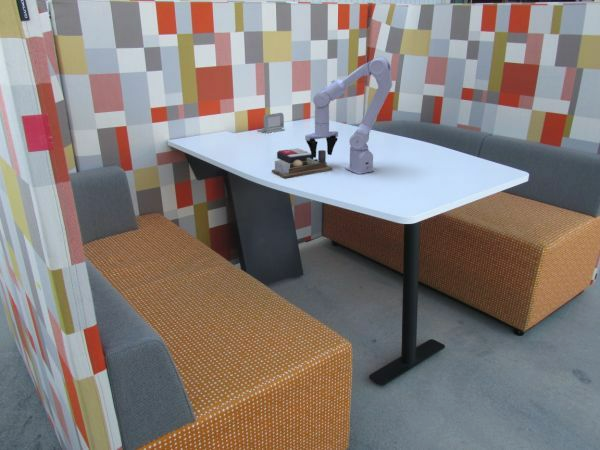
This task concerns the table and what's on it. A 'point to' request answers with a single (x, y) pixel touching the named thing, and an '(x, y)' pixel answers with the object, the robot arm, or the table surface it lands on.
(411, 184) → the table surface
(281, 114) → the handheld gaming console
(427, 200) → the table surface
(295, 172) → the base
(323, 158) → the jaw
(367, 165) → the robot arm
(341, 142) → the table surface
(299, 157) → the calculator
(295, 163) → the ball
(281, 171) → the anvil
